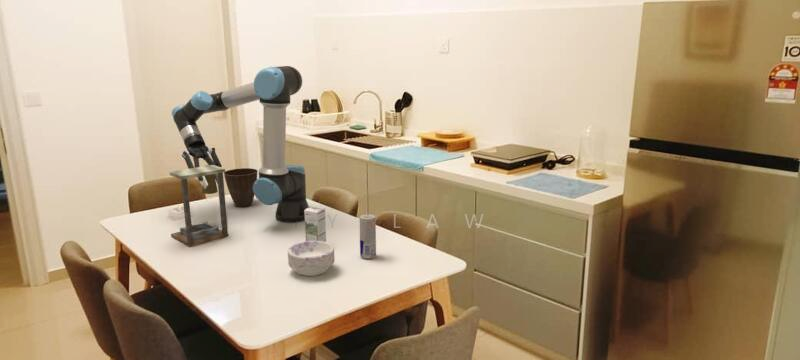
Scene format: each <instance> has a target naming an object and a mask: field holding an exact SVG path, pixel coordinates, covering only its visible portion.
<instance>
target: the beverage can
mask: <svg viewBox="0 0 800 360" xmlns="http://www.w3.org/2000/svg"><path fill="white" fill-rule="evenodd" d="M376 224H377V221H376V215H374V214H369V213H368V214H361V215H359V256H360V258H362V259H365V260H371V259H374V258H376V256H377V232H376V231H377V230H376V229H377V227H376V226H377V225H376Z"/></svg>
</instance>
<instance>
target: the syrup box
mask: <svg viewBox="0 0 800 360" xmlns="http://www.w3.org/2000/svg"><path fill="white" fill-rule="evenodd" d="M304 214H305V221H304V229H305V230H304V231H305V241H323V242H327V228H326V227H327V226H326V225H327V224H326V208H325V207H320V206H314V205H313V206H309V208H307V209H306V210H304Z"/></svg>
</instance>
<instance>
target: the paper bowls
mask: <svg viewBox="0 0 800 360" xmlns="http://www.w3.org/2000/svg"><path fill="white" fill-rule="evenodd" d="M335 259H336V257H335V247H334V245H333V244H331V243H329V242H327V241H326V242H323V241H306V240H305V241H300V242H296V243H295V244H292V245H291V246H290V247H289V248H288V250H287V265H288V266H289V267H290V268H291V269H292V270H295V271H296V273H297V274H299V275H301V276H306V277H313V276H319V275H322V274H324V273H326V271H328V269H329V268H330V267H331V266H332V265H334V263H335Z"/></svg>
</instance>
